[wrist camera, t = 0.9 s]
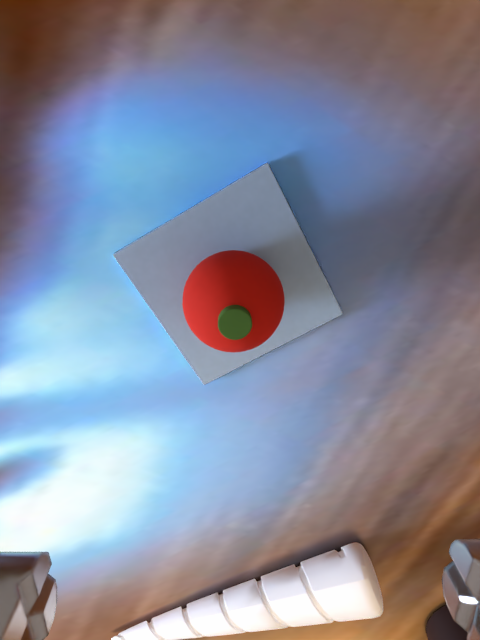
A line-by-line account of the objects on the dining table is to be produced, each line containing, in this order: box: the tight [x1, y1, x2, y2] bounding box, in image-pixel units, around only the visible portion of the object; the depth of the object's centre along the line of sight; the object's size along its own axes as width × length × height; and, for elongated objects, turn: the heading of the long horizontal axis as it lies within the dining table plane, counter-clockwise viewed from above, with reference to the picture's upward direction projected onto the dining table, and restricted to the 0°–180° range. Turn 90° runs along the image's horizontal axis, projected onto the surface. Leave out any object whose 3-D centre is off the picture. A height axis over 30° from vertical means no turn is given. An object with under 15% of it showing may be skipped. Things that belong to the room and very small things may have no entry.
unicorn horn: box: [111, 542, 383, 640], centre depth 33 cm, size 5×24×5 cm, turn 111°
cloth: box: [113, 163, 343, 385], centre depth 25 cm, size 10×10×1 cm
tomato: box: [182, 250, 285, 352], centre depth 22 cm, size 5×5×6 cm
